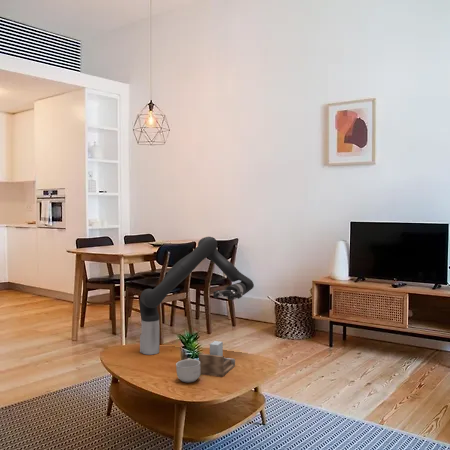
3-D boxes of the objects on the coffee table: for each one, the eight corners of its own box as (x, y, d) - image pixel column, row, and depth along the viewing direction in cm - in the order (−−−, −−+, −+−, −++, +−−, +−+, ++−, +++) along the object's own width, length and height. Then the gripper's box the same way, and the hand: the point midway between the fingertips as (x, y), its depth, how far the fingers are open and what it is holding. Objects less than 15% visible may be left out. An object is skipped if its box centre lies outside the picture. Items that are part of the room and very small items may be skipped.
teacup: (197, 385, 211) (197, 367, 211) (173, 383, 213) (173, 365, 212) (204, 374, 225) (204, 357, 224) (181, 373, 227) (181, 355, 226)
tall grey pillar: (209, 369, 228) (209, 344, 228) (214, 365, 234) (214, 340, 233) (217, 370, 227) (217, 345, 226) (222, 366, 232) (222, 341, 232)
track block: (198, 373, 226) (198, 354, 225) (212, 363, 241) (212, 345, 240) (222, 376, 221) (222, 357, 221) (235, 366, 236) (235, 347, 236)
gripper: (221, 283, 262) (209, 288, 246) (246, 285, 256) (236, 290, 241) (221, 297, 262) (209, 303, 247) (246, 299, 257) (236, 305, 242)
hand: (222, 296), depth 244 cm, fingers open, 8 cm apart
